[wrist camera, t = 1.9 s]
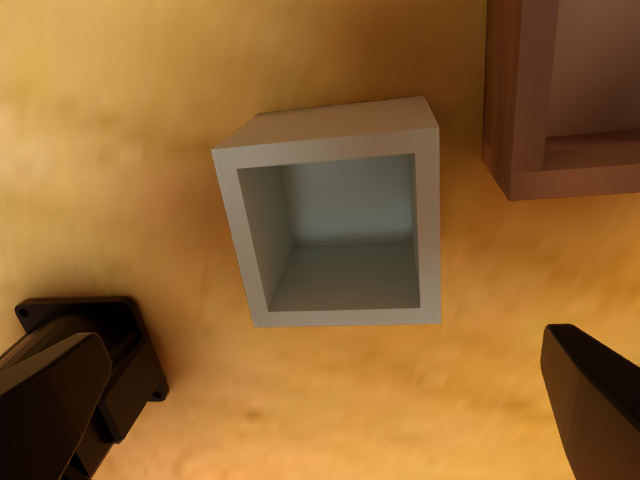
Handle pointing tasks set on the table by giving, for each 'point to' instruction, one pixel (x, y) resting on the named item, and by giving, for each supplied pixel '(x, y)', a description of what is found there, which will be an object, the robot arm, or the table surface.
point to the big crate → (562, 97)
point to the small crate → (336, 213)
